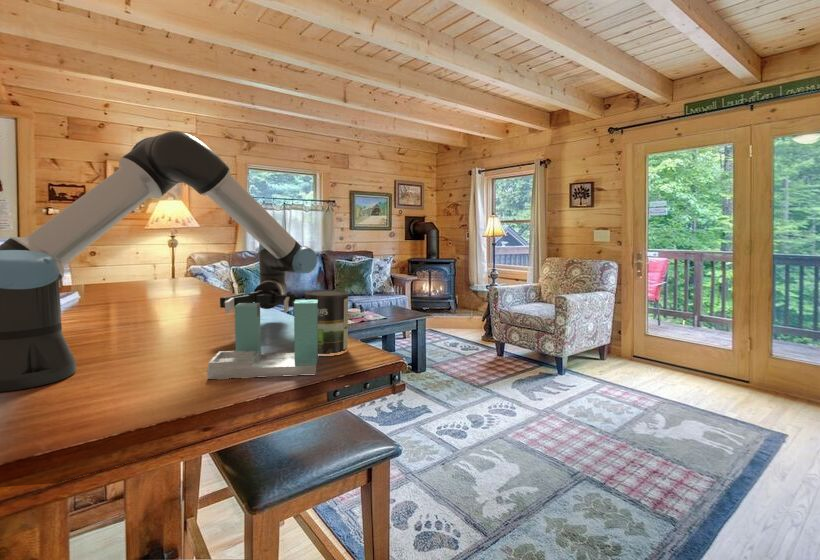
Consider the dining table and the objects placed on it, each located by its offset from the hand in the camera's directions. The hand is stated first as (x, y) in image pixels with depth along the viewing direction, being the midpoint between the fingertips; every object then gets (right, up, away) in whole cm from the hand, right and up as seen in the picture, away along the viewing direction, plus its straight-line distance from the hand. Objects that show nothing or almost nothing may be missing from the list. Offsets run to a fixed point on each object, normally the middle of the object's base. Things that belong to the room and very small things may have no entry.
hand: (256, 307), depth 105 cm
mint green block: (+1, -11, -9) cm, 14 cm away
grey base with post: (+8, -12, -17) cm, 22 cm away
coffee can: (+17, -11, -2) cm, 20 cm away
